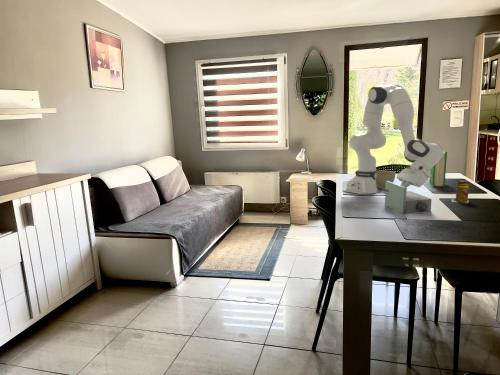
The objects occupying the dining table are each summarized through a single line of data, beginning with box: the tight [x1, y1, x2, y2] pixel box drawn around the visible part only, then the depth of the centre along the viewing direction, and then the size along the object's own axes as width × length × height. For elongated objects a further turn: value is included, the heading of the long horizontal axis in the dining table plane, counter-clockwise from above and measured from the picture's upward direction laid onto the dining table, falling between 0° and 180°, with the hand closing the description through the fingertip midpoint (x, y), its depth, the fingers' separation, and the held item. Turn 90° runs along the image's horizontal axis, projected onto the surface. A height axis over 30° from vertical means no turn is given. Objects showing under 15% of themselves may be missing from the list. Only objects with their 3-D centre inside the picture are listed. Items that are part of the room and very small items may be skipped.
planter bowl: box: [376, 170, 397, 190], centre depth 255 cm, size 16×16×11 cm
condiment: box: [451, 179, 470, 204], centre depth 213 cm, size 7×8×12 cm
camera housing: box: [404, 190, 433, 215], centre depth 202 cm, size 22×14×7 cm, turn 8°
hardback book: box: [429, 148, 448, 188], centre depth 257 cm, size 18×7×24 cm, turn 161°
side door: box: [384, 181, 408, 215], centre depth 201 cm, size 20×2×14 cm, turn 8°
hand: (401, 188), depth 201 cm, fingers closed
